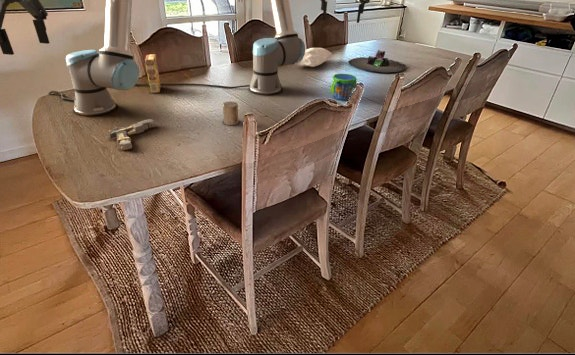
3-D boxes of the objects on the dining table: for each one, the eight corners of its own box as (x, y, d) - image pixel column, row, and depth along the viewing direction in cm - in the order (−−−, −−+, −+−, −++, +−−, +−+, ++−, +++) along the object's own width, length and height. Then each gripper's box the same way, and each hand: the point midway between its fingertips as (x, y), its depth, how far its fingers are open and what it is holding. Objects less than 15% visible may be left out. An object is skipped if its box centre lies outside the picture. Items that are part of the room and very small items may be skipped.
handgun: (169, 128, 131) (147, 116, 139) (122, 144, 120) (101, 130, 128) (170, 135, 133) (148, 122, 141) (123, 152, 121) (102, 137, 129)
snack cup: (347, 91, 179) (350, 71, 174) (362, 98, 172) (365, 77, 167) (322, 97, 172) (324, 75, 166) (336, 104, 165) (339, 82, 159)
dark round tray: (418, 67, 219) (420, 52, 215) (377, 75, 202) (379, 59, 197) (375, 58, 244) (377, 43, 239) (336, 64, 226) (337, 49, 222)
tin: (232, 126, 141) (231, 108, 137) (220, 122, 144) (219, 104, 140) (241, 121, 146) (240, 103, 141) (230, 118, 148) (229, 100, 144)
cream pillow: (271, 61, 216) (273, 46, 210) (312, 52, 236) (315, 38, 230) (297, 77, 204) (300, 61, 198) (339, 66, 224) (342, 52, 218)
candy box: (159, 92, 169) (154, 59, 161) (150, 93, 168) (144, 59, 160) (161, 86, 176) (156, 54, 168) (151, 86, 175) (146, 54, 167)
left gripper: (-33, -35, 82) (4, 60, 93) (46, -39, 103) (68, 40, 114) (-62, -37, 83) (-22, 58, 94) (22, -40, 104) (46, 38, 115)
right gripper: (312, -43, 133) (308, 19, 145) (381, -40, 128) (371, 25, 139) (316, -43, 139) (312, 16, 151) (382, -40, 134) (373, 22, 145)
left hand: (27, 48), depth 104 cm, fingers open, 13 cm apart
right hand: (340, 21), depth 145 cm, fingers open, 13 cm apart
